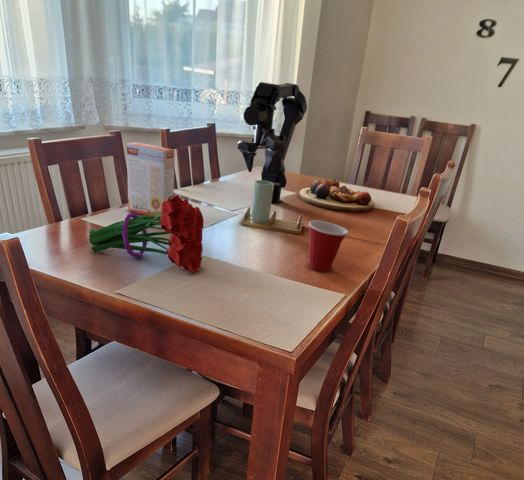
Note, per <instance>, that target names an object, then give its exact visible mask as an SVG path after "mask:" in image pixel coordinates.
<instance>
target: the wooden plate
mask: <svg viewBox="0 0 524 480" xmlns="http://www.w3.org/2000/svg"><path fill="white" fill-rule="evenodd" d="M298 195H299V197H300V198H301V199H302V201H305V202H306V203H308V204H309V203H310V204H312V205H314V206H317V207H321V208H325V209H330V210H334V211H341V212H342V211H343V212H357V213H358V212H367V211H370V210H372V209H373V208H374V207H375V201H374V200H373V199H372V196H371V195H370V193H369V192H368V191H360V190H353V189H350V188H348V187H347V185H342V186H340V181H339V180H338V179H336V178H334V179H332V180H329V179H323V180H320V179H316V180H314V181H313V182H312V183H310V186H308V187H304V188H302V189H300V191H299V193H298Z"/></svg>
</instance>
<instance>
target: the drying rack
mask: <svg viewBox="0 0 524 480" xmlns="http://www.w3.org/2000/svg"><path fill="white" fill-rule="evenodd" d="M251 211H252V206H248V207H247V209H246V210H245V212H244V213H243V218H242V220H241V221H240V222H241V223H240V225H241V226H247V227H253V228H260V229H266V230H272V231H277V232H284V233H290V234H296V235H301V233H302V228H303V223H304V222H302V221H303V215H302V214H299V216H298V221H291V220H290V221H289V220H284V219H279V218H277V211H276V210H273V212H272V215H271V216H270V217H269V222H268V223H257V222H254V221H252V220H251Z"/></svg>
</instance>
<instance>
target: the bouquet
mask: <svg viewBox="0 0 524 480" xmlns="http://www.w3.org/2000/svg"><path fill="white" fill-rule="evenodd" d="M172 197H173V196H171V197H170V198H168V199H167V200H165V201H163V202H162V212H161V213H162V214H160V215H159V216H152V215H139V214H138V213H136V212H129V213H127V214H126V215H125V217H124V220H120V221H116V222H114V223H112V224H109V225H107V226H104V227H102V228H100V229H90V230H89V235H88V237H89V238H88V241H89V243H90V244H91V247H90V249H91V250H92V251H93V253H94V254H96V253H99V252H102V251H105V250H108V249H119V250H126V252H127V254H129V255H130V256H131V257H132V258H141V257H142V256H143V255H144V254H145V252H147V253H149V252H151V253H156V254H157V253H158V254H162V255H167V258H168V260H169V261H170V262H171V263H172V264H174V265H176V266H177V267H179V268H183V269H184V271H187V272H188V273H191V274H193V275H195V274H196V273H197V272H199V270H200V269H201V268H202V261H203V256H202V254H203V249H204V248H203V242H202V241H203V229H204V224H205V223H204V222H205V221H204V216H203V213H202V211H201V209H200V207H198V206H195V207H194V206H193V204H192V203H190V202H189V200H188V198H185V197H183V198H181V196H180V195H179V194H176V195H174V197H173V198H172ZM171 198H172V199H171ZM170 199H171V200H170ZM148 229H154V230H161V231H154V232H153V231H152V232H148ZM163 235H169V238H166V237H163ZM150 242H151V243H153V244H154V245H156V246H159V248H162V249H164V250H162V249H159V248H154V247H147V245H148V243H150ZM136 243H137V244H139V243H141V246H140V245H133V244H136ZM164 245H166V246H169V247H168V248H167V247H165V246H164ZM134 251H137V252H134Z"/></svg>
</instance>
